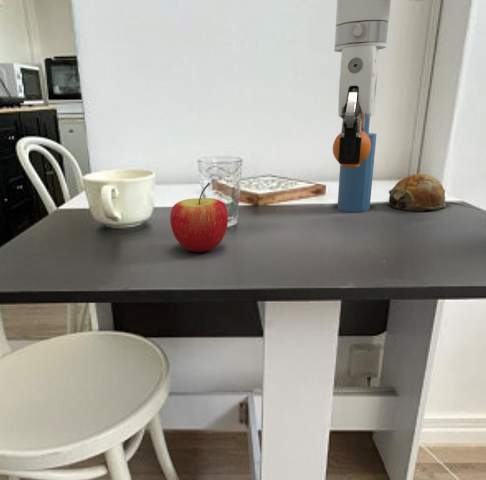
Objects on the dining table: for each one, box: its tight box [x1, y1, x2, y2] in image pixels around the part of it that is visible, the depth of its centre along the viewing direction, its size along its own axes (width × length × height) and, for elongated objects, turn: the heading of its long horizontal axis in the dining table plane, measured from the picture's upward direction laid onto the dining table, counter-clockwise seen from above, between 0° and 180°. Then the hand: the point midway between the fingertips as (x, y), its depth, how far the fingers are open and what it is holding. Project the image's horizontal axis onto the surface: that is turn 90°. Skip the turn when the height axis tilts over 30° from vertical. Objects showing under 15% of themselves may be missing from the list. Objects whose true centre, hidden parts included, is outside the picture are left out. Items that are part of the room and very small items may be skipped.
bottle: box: [337, 114, 377, 213], centre depth 83 cm, size 6×6×18 cm
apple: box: [169, 182, 229, 253], centre depth 64 cm, size 8×8×10 cm
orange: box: [332, 130, 371, 167], centre depth 72 cm, size 6×6×6 cm
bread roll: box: [388, 173, 447, 212], centre depth 85 cm, size 10×10×8 cm
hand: (350, 159), depth 73 cm, fingers closed on orange, 6 cm apart
